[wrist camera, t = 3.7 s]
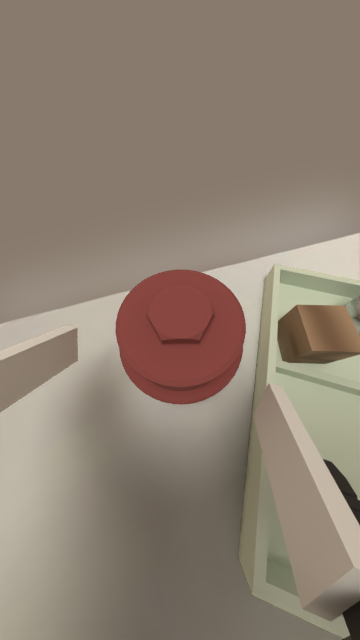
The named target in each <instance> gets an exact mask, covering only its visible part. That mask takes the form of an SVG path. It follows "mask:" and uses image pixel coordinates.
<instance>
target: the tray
mask: <svg viewBox="0 0 360 640" xmlns="http://www.w3.org/2000/svg"><path fill="white" fill-rule="evenodd" d="M359 295H360V281H357V280H352V279H347V278H342V277H337V276H332V275H327V274H322V273H317V272H312V271H307V270H302V269H297V268H292V267H287V266H282V265H277V264H274V266H273V267H272V269H271V270H270V272H269V273H268V275H267V276H266V278H265V283H264V294H263V304H262V314H261V325H260V335H259V345H258V355H257V366H256V376H255V386H254V397H253V407H252V417H251V427H250V438H249V448H248V458H247V469H246V479H245V489H244V499H243V510H242V520H241V530H240V541H239V551H238V557H239V560H240V563H241V566H242V568H243V571H244V574H245V576H246V579H247V582H248V585H249V587H250V590H251V593H252V595H253V596H255V597H257V598H259V599H261V600H264V601H266V602H268V603H270V604H272V605H274V606H276V607H278V608H280V609H282V610H284V611H286V612H289V613H291V614H293V615H295V616H297V617H299V618H301V619H303V620H305V621H307V622H309V623H312V624H314V625H316V626H318V627H320V628H322V629H324V630H326V631H328V632H330V633H332V634H334V635H337V636H339V637H341V638H343V639H344V638H346V637H348V636H350V633H349V631H348V628H347V625H346V622H345V620H344V617H343V614H342V615H341V616H339V617H338V618H336V619H335V620H333V621H331V622H330V621H328V620H326V619H324V618H321V617H319V616H317V615H315V614H312V613H310V612H308V611H306V610H303V609H302V606H301V602H300V598H299V594H298V590H297V587H296V583H295V579H294V575H293V571H292V567H291V563H290V559H289V555H288V551H287V547H286V543H285V539H284V535H283V531H282V527H281V524H280V520H279V516H278V512H277V508H276V504H275V500H274V496H273V492H272V488H271V484H270V480H269V476H268V472H267V468H266V464H265V461H264V457H263V453H262V449H261V445H260V441H259V437H258V433H257V429H256V425H255V421H254V417H253V415H254V413H255V411H256V409H257V407H258V405H259V402H260V400H261V398H262V396H263V394H264V392H265V389H266V387H267V385H268V383H272V384H275V385H279V386H282V388H283V389H284V391H285V393H286V395H287V396H288V398H289V400H290V402H291V404H292V405H293V407H294V409H295V411H296V413H297V414H298V416H299V418H300V420H301V421H302V423H303V425H304V427H305V429H306V430H307V432H308V434H309V436H310V438H311V439H312V441H313V443H314V445H315V446H316V448H317V450H318V452H319V454H320V455H321V457H322V459H325V460H328V461H331V462H332V463H333V464H334V465H335V466H336V467H337V468H338V470H339V471H340V472H341V473H342V474H343V475H344V476H345V478H346V479H347V480H348V482H349V484H350V485H351V487H352V488H353V490H354V492H355V493H356V495H357V498H358V500H360V355H356V356H353V357H349V358H346V359H342V360H338V361H335V362H331V363H327V364H309V363H288V362H284V361H282V357H281V353H280V349H279V345H278V341H277V331H278V320H280V319H281V318H282V317H283V316H284V315H285V314H286V313H288V312H289V311H290V310H291V309H292V308H293V307H295V306H296V305H338V306H343V305H345V304H346V303H348V302H349V301H351V300H353V299H354V298H356V297H358V296H359Z"/></svg>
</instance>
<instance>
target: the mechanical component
mask: <svg viewBox="0 0 360 640" xmlns="http://www.w3.org/2000/svg"><path fill="white" fill-rule="evenodd" d="M245 333H246V323H245V317H244V313H243V310H242V307H241V305H240V303H239V301H238V300H237V298H236V297H235V295H234V294H233V293H232V291H231V290H230V289H228V288H227V287H226V286H225V285H224V284H223V283H221V282H220V281H219V280H217V279H215V278H213V277H211V276H209V275H207V274H204V273H201V272H197V271H191V270H171V271H165V272H162V273H158V274H155V275H153V276H151V277H149V278H147V279H145V280H143V281H142V282H141V283H139V284H138V285H137V286H135V287H134V288H133V289H132V290H131V291H130V293H129V294H128V295H127V296H126V297H125V299H124V301H123V303H122V304H121V307H120V309H119V312H118V315H117V320H116V337H117V342H118V345H119V349H120V357H121V361H122V364H123V367H124V369H125V371H126V373H127V375H128V376H129V378H130V379H131V381H132V382H133V383H134V384H135V385H136V386H137V387H138V388H139V389H140V390H141V391H143V392H144V393H145V394H147V395H149V396H151V397H152V398H154V399H157V400H160V401H162V402H166V403H172V404H190V403H196V402H199V401H202V400H205V399H207V398H209V397H211V396H214V395H215V394H216V393H218V392H219V391H221V390H222V389H223V388H224V387H225V386H226V385H227V384H228V383H229V382H230V381H231V379H232V378H233V376H234V375H235V373H236V371H237V369H238V367H239V364H240V361H241V358H242V352H243V343H244V339H245Z"/></svg>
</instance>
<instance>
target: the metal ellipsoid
mask: <svg viewBox="0 0 360 640" xmlns="http://www.w3.org/2000/svg"><path fill="white" fill-rule="evenodd" d="M343 306H346V308H347V310H348V312H349V315H350V317H351V319H352V321H353V323H354V325H355V327H356V329H357V331H358V333H359V335H360V295H359V296H358V297H356V298H354V299H353V300H351V301H349V302H348V303H346V304H345V305H343Z"/></svg>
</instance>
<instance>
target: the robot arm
mask: <svg viewBox="0 0 360 640" xmlns="http://www.w3.org/2000/svg"><path fill="white" fill-rule="evenodd" d="M76 361H78V347H77V327H74V326H70V325H66V326H63V327H61V328H58V329H55V330H53V331H50V332H48V333H45V334H42V335H40V336H37V337H35V338H32V339H29V340H27V341H24V342H22V343H19V344H16V345H14V346H11V347H9V348H6V349H3V350H1V351H0V412H1V411H3V410H4V409H6V408H7V407H9V406H10V405H12V404H13V403H15V402H16V401H18V400H19V399H21V398H22V397H24V396H25V395H27V394H28V393H30V392H31V391H33V390H34V389H36V388H37V387H39V386H40V385H42V384H43V383H45V382H46V381H48V380H49V379H51V378H52V377H54V376H55V375H57V374H58V373H60V372H61V371H63V370H64V369H66V368H67V367H69V366H70V365H72V364H73V363H75V362H76ZM253 417H254V421H255V425H256V429H257V433H258V437H259V441H260V445H261V449H262V453H263V457H264V461H265V464H266V468H267V472H268V476H269V480H270V484H271V488H272V492H273V496H274V500H275V504H276V508H277V512H278V516H279V520H280V524H281V527H282V531H283V535H284V539H285V543H286V547H287V551H288V555H289V559H290V563H291V567H292V571H293V575H294V579H295V583H296V587H297V590H298V594H299V598H300V602H301V606H302V609H303V610H306V611H308V612H310V613H312V614H315V615H317V616H319V617H321V618H324V619H326V620H328V621H330V622H331V621H333V620H335V619H336V618H338V617H339V616H341V615H342V614H343V617H344V620H345V622H346V625H347V628H348V631H349V633H350V636H348V637H346V638H344V639H342V640H360V500H358V498H357V495H356V493H355V492H354V490H353V488H352V487H351V485H350V484H349V482H348V480H347V479H346V478H345V476H344V475H343V474H342V473H341V472H340V471H339V470H338V468H337V467H336V466H335V465H334V464H333V463H332V462H331V461H328V460H325V459H322V457H321V455H320V454H319V452H318V450H317V448H316V446H315V445H314V443H313V441H312V439H311V438H310V436H309V434H308V432H307V430H306V429H305V427H304V425H303V423H302V421H301V420H300V418H299V416H298V414H297V413H296V411H295V409H294V407H293V405H292V404H291V402H290V400H289V398H288V396H287V395H286V393H285V391H284V389H283V388H282V386H279V385H275V384H272V383H268V385H267V387H266V389H265V392H264V394H263V396H262V398H261V400H260V402H259V405H258V407H257V409H256V411H255V413H254V415H253Z"/></svg>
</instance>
